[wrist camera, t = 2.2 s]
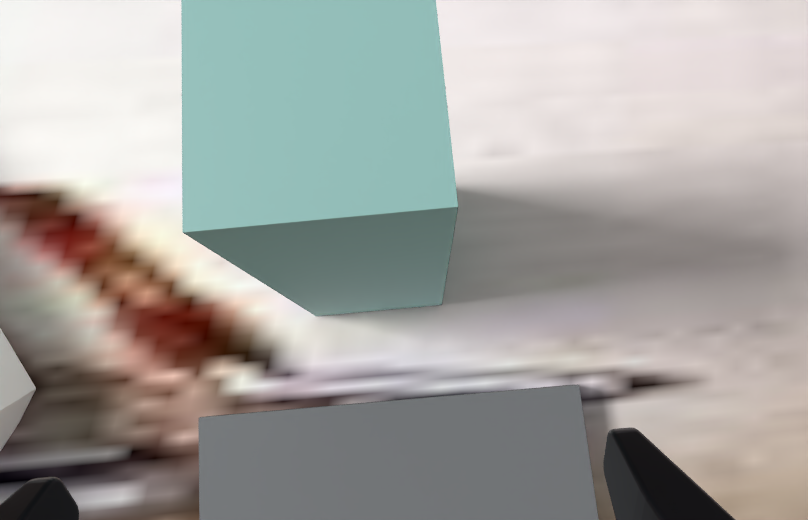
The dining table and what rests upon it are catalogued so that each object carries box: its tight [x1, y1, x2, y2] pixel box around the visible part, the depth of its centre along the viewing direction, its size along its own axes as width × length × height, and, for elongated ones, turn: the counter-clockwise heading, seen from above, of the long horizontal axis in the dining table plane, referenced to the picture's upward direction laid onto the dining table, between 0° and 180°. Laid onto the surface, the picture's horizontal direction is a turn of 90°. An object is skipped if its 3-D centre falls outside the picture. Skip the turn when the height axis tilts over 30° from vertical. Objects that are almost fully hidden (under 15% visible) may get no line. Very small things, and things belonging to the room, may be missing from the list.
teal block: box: [182, 0, 458, 316], centre depth 17 cm, size 5×5×13 cm
